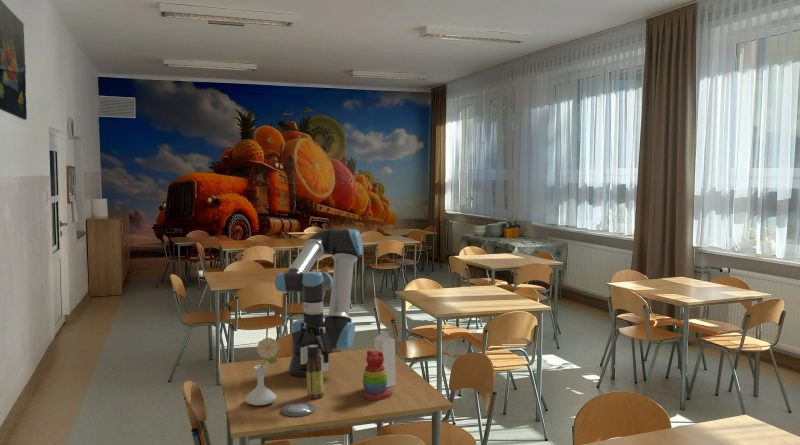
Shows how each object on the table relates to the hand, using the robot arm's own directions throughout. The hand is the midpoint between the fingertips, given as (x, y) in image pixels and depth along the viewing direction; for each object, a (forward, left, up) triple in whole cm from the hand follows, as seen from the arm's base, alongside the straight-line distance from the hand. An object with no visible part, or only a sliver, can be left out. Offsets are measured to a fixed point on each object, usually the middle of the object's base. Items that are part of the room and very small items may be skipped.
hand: (314, 367), depth 245 cm
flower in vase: (-8, -18, -12) cm, 23 cm away
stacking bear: (+16, +17, -12) cm, 26 cm away
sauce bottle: (0, 0, -12) cm, 12 cm away
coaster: (+8, -13, -12) cm, 19 cm away
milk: (+9, +28, -12) cm, 32 cm away
